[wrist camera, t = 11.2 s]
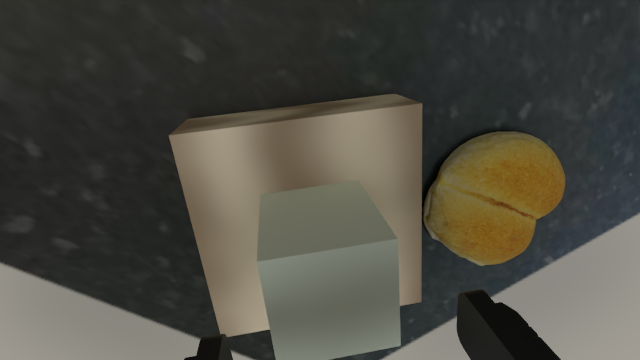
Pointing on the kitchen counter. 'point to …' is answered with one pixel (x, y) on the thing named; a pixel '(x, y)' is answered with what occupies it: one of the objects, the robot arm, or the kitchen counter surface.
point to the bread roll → (493, 196)
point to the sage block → (328, 272)
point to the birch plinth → (295, 185)
